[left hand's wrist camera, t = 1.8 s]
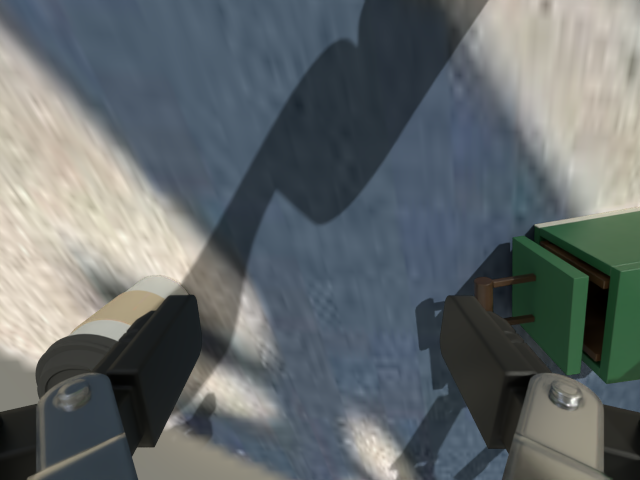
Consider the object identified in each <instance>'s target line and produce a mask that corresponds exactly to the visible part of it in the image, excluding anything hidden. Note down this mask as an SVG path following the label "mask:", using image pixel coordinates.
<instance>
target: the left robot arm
mask: <svg viewBox="0 0 640 480" xmlns="http://www.w3.org/2000/svg"><path fill="white" fill-rule="evenodd" d="M201 346H202V334H201V327H200V320H199V313H198V305H197V300H196V297H195V296H194V295H169V296H167V298H166V299H165V300H164V301H163V302H162V304H161V305H160V306H159V307H158V309H157V310H151V311H149V312H148V313H146V314H144V315H143V316H141V317H140V318H138V319H137V320H135V322H134V323H133V324H132V325H131V326H130V327H129V328H128V330H127V332H126V333H124V334H123V335H122V336H121V338H120V339H119V341H118V342H116V343H115V344H114V346H113V347H112V348H111V349H110V350H109V351H108V352H107V354H106V355H105V356H104V357H103V358H102V359H101V360H100V362H99V363H98V364H97V365H96V366H95V367H94V369H93V370H92V371H91V372H90V373H86V374H81V375H77V376H74V377H71V378H69V379H66V380H64V381H62V382H60V383H59V384H57V385H55V386H54V387H52V388H51V389H50V390H49V391H47V392H46V393H45V394H44V395H43V396H42V397H41V399H40V400H39V402H38V404H34V405H30V406H25V407H21V408H16V409H12V410H7V411H3V412H0V480H138V478H137V474H136V470H135V467H134V463H133V460H132V456H133V454H134V452H135V450H136V448H137V447H155V445H156V443H157V441H158V439H159V437H160V435H161V433H162V431H163V429H164V427H165V425H166V423H167V421H168V419H169V417H170V415H171V412H172V410H173V408H174V406H175V404H176V402H177V400H178V398H179V396H180V394H181V392H182V390H183V388H184V386H185V384H186V382H187V380H188V378H189V376H190V374H191V372H192V370H193V368H194V366H195V364H196V361H197V359H198V357H199V355H200V352H201ZM440 348H441V353H442V356H443V358H444V360H445V362H446V364H447V366H448V369H449V371H450V373H451V375H452V377H453V379H454V381H455V383H456V385H457V387H458V389H459V391H460V393H461V395H462V397H463V399H464V401H465V403H466V405H467V407H468V409H469V411H470V413H471V415H472V417H473V419H474V421H475V423H476V425H477V427H478V429H479V431H480V433H481V435H482V437H483V439H484V441H485V443H486V445H487V447H488V449H506V450H507V452H508V453H509V456H508V460H507V463H506V467H505V470H504V474H503V478H502V480H640V413H639V412H635V411H630V410H626V409H621V408H617V407H612V406H608V405H604V404H602V402H601V400H600V399H599V397H598V396H597V395H596V394H595V393H594V392H593V391H591V390H590V389H589V388H588V387H586V386H585V385H583V384H581V383H580V382H578V381H576V380H574V379H571V378H569V377H566V376H563V375H559V374H554V373H552V372H551V371H550V370H549V368H548V367H547V366H546V365H545V364H544V363H543V362H542V361H541V359H540V358H539V357H538V356H537V355H536V354H535V353H534V351H533V350H532V349H531V348H530V347H529V346H528V345H527V344H526V343H524V340H523V339H522V338H521V337H520V336H519V334H516V331H515V330H514V329H513V328H512V327H511V325H510V324H509V323H508V322H507V321H506V320H505V319H503V318H501V317H500V316H498V315H497V314H495V313H493V312H492V311H486V310H485V309H484V308H483V307H482V305H481V304H480V303H479V302H478V300H477V299H476V298H475V297H474V296H472V295H449V296H447V298H446V300H445V305H444V312H443V319H442V326H441V333H440Z"/></svg>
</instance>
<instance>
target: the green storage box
mask: <svg viewBox="0 0 640 480" xmlns="http://www.w3.org/2000/svg"><path fill="white" fill-rule="evenodd" d="M534 226H535V233H534V242H535V243H536V244H538V245H540V242H541V241H547V240H548V241H550V242H552V243H553V244H555V245H557V246H559V247H560V248H562V249H564V250H565V251H567V252H569V253H571V254H572V255H574V256H576V257H578V258H579V259H581V260H583V261H584V262H586V263H588V264H590V265H591V266H593V267H595V268H597V269H598V270H600V271H602V272H603V273H605V274H607V275H609V276H610V285H609V294H608V302H607V311H606V320H605V328H604V337H603V346H602V355H601V361H595V360H593V359H592V358H591V357H590V356H589V355H588V354H587V353H586V352H585V351H584V350H583V349H582V358H581V360H582V361H583V362H584V363H586V364H587V365H588V366H589V367H590V368H591V369H592V370H593V371H594V372H595V373H596V374H597V375H598V376H599V377H600V378H601V379H602V380H603V381H604V382H605V383H606V384H610V383H617V382H624V381H631V380H639V379H640V207H635V208H629V209H623V210H618V211H612V212H606V213H600V214H594V215H588V216H582V217H576V218H571V219H565V220H559V221H553V222H547V223H541V224H535V225H534Z"/></svg>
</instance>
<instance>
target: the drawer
mask: <svg viewBox="0 0 640 480" xmlns="http://www.w3.org/2000/svg"><path fill="white" fill-rule="evenodd" d="M507 285H512V317H509V318H503V319H505V320H506V321H507V322H508V323H509V324H510V325H517V324H520V325H521V326H522V327H523V329H524V330H525V331H526V332H527V333H528V334H529V335H530V336H531V337H532V338H533V339H534V340H535V342H536V343H537V344H538V345H539V346H540V347H541V348H542V349H543V350H544V351H545V352H546V353H547V355H548V356H549V357H550V358H551V359H552V360H553V361H554V362H555V363H556V364H557V365H558V366H559V368H560V369H561V370H562V371H563V372H564V373H565V374H566V375H573V374H580V369H581V358H582V349H583V350H584V351H585V352H586V353H587V354H588V355H589V356H590V357H591V358H592V359H593V360H595V361H601V355H602V346H603V337H604V328H605V320H606V311H607V302H608V294H609V285H610V276H609V275H607V274H605V273H603V272H602V271H600V270H598V269H597V268H595V267H593V266H591V265H590V264H588V263H586V262H584V261H583V260H581V259H579V258H578V257H576V256H574V255H572V254H571V253H569V252H567V251H565V250H564V249H562V248H560V247H559V246H557V245H555V244H553V243H552V242H550V241H548V240H547V241H541V242H540V245H538V244H536V243H535V242H533V241H532V240H530V239H528V238H527V237H525V236H519V237H513V252H512V277H506V278H500V279H493V280H492V279H490V278H487V277H478V278H476V279H475V280H474V296H475V298H476V299H477V300H478V302H479V303H480V304H481V305H482V307H483V308H484V309H485V310H486V311H492V312H493V288H495V287H501V286H507Z"/></svg>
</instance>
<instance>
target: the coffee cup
mask: <svg viewBox="0 0 640 480" xmlns="http://www.w3.org/2000/svg"><path fill="white" fill-rule="evenodd" d="M169 295H188V293H187V291H186V290H185V289H184V288H183V286H181V285H180V284H179V283H178V282H176V281H175V280H173V279H170V278H168V277H164V276H149V277H146V278H144V279H142V280H140V281H139V282H138V283H136V284H135V285H134V286H133V287H131V288H130V289H129V290H127V291H126V292H125V293H122V294H120V295H119V296H117V297H116V298H115V299H113V300H112V301H111V302H109V303H108V304H107V305H105V306H104V307H103V308H101V309H100V310H99V311H97V312H96V313H95V314H93V315H92V316H91V317H90V318H88V319H87V320H86V321H84V322H83V323H82V324H80V325H79V326H78V327H76V328H75V329H74V330H73V331H72V333H71V334H70V335H69V336H67V337H64V338H62V339H60V340H58V341H57V342H55V343H54V344H53V345H51V346H50V347H49V349H48V350H47V351H46V353H44V354H43V356H42V357H41V358H40V360H39V362H38V364H37V367H36V382H37V386H38V387H37V390H38V396H39V399H41V397H42V396H43V395H44V394H45V393H46V392H47V391H49V390H50V389H51V388H52V387H54V386H55V385H57V384H59V383H60V382H62V381H64V380H66V379H69V378H71V377H74V376H77V375H81V374H86V373H90V372H91V371H92V370H93V369H94V367H95V366H96V365H97V364H98V363H99V362H100V360H101V359H102V358H103V357H104V356H105V355H106V354H107V352H108V351H109V350H110V349H111V348H112V347H113V346H114V344H115V343H116V342H118V341H119V339H120V338H121V336H122V335H123V334H124V333H126V332H127V330H128V328H129V327H130V326H131V325H132V324H133V323H134V322H135V320H137V319H138V318H140V317H141V316H143V315H144V314H146V313H148V312H149V311H151V310H157V309H158V307H159V306H160V305H161V304H162V302H163V301H164V300H165V299H166V298H167V296H169Z"/></svg>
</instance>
